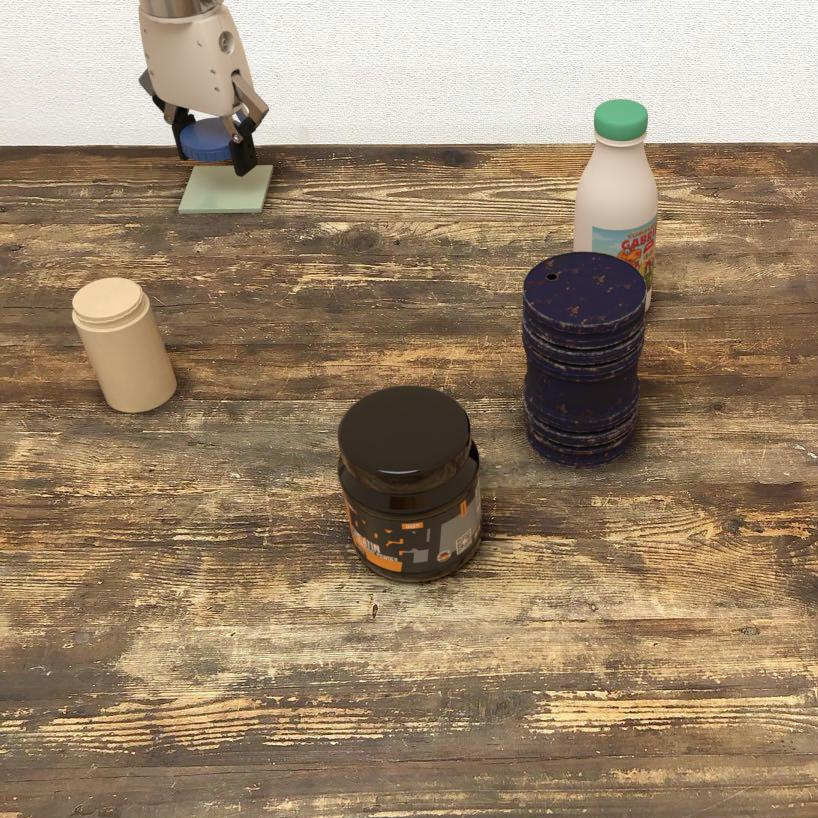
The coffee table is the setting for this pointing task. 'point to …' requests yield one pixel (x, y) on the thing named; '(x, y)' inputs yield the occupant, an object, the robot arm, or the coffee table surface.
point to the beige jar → (124, 344)
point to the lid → (206, 140)
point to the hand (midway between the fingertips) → (219, 161)
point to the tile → (226, 190)
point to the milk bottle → (619, 191)
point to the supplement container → (410, 482)
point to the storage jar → (582, 356)
